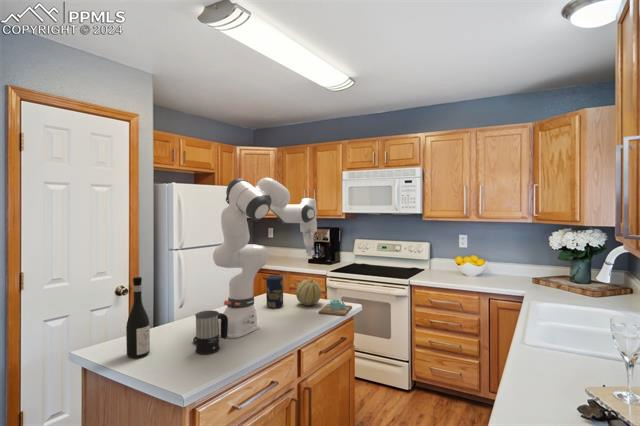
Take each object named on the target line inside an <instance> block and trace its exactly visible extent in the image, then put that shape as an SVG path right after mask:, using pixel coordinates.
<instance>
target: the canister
mask: <svg viewBox="0 0 640 426" xmlns="http://www.w3.org/2000/svg"><path fill="white" fill-rule="evenodd" d="M265 281H266V283H265V284H266V285H265V287H266V292H265V293H266V307H268V308H273V309H276V308H281V307H282V306H283V305H284V277H283V276H281V275H278V274H272V275H269V276H267V277H266V280H265Z"/></svg>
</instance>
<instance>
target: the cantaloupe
mask: <svg viewBox="0 0 640 426" xmlns="http://www.w3.org/2000/svg"><path fill="white" fill-rule="evenodd" d="M295 294H296V295H295V297H296V299H297V301H298V302H300V304H302V305H304V306H308V307H309V306H313V305H315V304H317V303H318V302H319V301H320V299H321V296H322V287H321V285H320V284H319V282H317V281H316V280H315V279H310V278H309V279H308V278H307V279H304V280H301V282H299V283H298V285H297V287H296V290H295Z"/></svg>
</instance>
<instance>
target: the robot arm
mask: <svg viewBox="0 0 640 426" xmlns="http://www.w3.org/2000/svg"><path fill="white" fill-rule="evenodd" d="M225 193H226V197H225V202H226V203H227V204H228V206H226V207H225V208H224V209H223V210H222V211H221V216H220V217H221V219H220V221H221V223H220V224H221V229H222V230H221V231H222V234H223V242H222V243H221V244H220V245H218V246H216V248H215V249H214V251H213V253H212V260H213V262H214V264H215V266H216V267H221V268H226V269H231V268H232V269H239V268H240V269H242V271H241V272H240V273H238V274H236V275H235V276H233V277H231V279H230V280H229V282H228V289H229V290H228V292H229V293H228V295H229V296H228V299H227V300H224V301H223V305H224V306H226V308H225V309H224V311H223V312H222V314H225V315H226V316H227V318H228V332H227V338H226V339H228V338H229V339H235V338H237V339H238V338H241V337H243V336H245V335H247V334H249V333H252V332H254V331H257V330H258V329H260V328H261V327H260V325H259V324H258V315H257V309H256V307H255V305H254V304H255V296H254V283H255V278H256V276H257V273H259V270H261V269H262V268H263V267H265V265H266V264H267V263H268V260H269V256H270V255H269V250H268V249H267V248H266V247H265V245H260V244H253V243H251V244H248V243H249V242H250V237H251V236H250V229H249V223H248V220H247V219H248V218H250V219H251V220H253V221H258V220H262V219H264V218H265V217H266V216H267V215H268V213H269V212H270V211H271V212H272V214H274V215H275V216H276V217H277V219H278V221H279V222H280V223H282V224H300V225H299V228H300V230H299V231H300V233H301V232H302V237H303V244H304V245H305V249H306V250H305V251H306V252H305V253H306V254H307V256H309V257H310V256H311V257H312V251H313V250H312V249H313V248H315V247H314V245H315V242H314V241H315V240H314V235H316V233H317V231H318V222H317V216H318V214H317V213H318V212H317V211H318V209H317V203H316V199H314V198H312V197H303V198H301V200H300V203H299V204H296V203H295V204H289V203H290V201H291V193H290V191H289V189H287V187H286V186H285V185H284V184H281V183H280V182H279V181H277V180H276V179H273V178H270V177H264V178H262V179H260V180H259V181H258V182H257V183H256V186H253V185H252V184H251V183H249V182H248V180H246V179H243V178H239V177H238V178H234V179H233V180H231V181H230V182H229V184H228V185H227V188H226V191H225ZM218 323H219V338H221V319H218Z"/></svg>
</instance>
